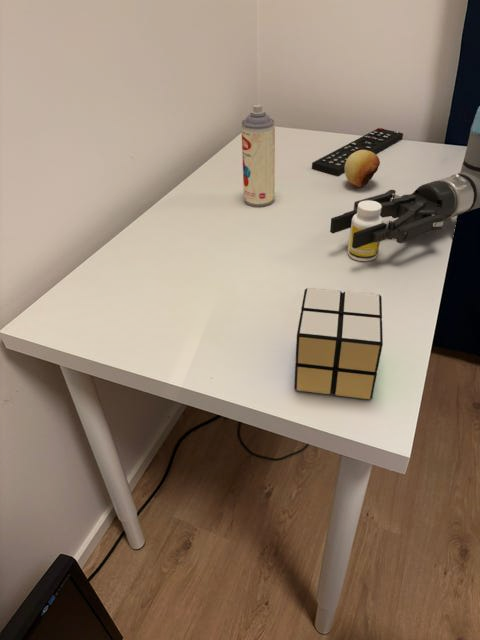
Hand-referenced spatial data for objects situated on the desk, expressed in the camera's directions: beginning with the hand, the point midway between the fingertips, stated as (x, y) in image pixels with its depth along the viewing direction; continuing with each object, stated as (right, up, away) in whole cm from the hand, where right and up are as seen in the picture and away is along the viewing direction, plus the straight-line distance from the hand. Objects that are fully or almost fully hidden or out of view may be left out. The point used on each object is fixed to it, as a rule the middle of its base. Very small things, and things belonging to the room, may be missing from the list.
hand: (343, 233), depth 83 cm
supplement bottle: (+5, -3, +6) cm, 8 cm away
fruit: (+10, +16, +29) cm, 34 cm away
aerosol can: (-13, +12, +25) cm, 30 cm away
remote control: (+14, +29, +44) cm, 54 cm away
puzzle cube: (-5, -22, -17) cm, 28 cm away
